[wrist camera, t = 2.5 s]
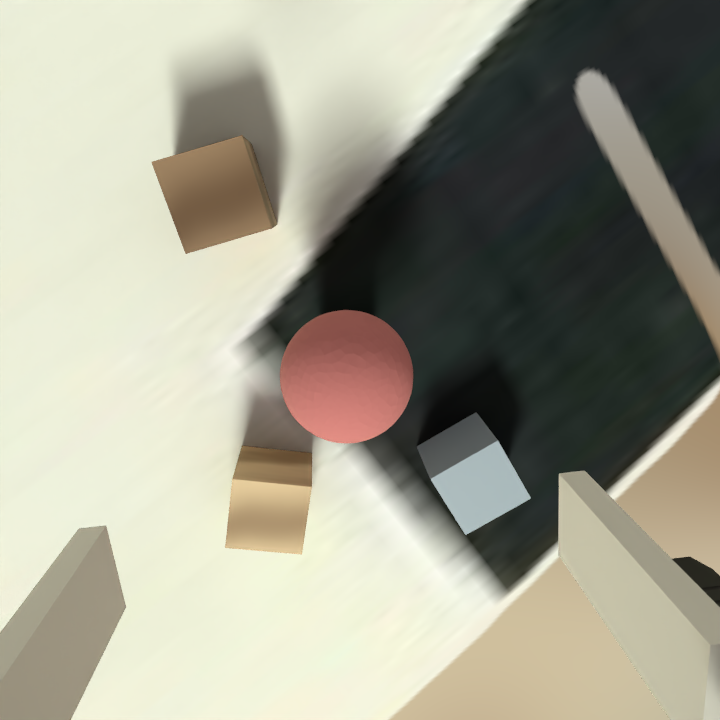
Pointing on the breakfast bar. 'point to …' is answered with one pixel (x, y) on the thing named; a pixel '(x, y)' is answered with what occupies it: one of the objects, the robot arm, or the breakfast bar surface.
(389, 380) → the light bulb
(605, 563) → the robot arm
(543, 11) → the breakfast bar surface
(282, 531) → the oak block
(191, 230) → the walnut block
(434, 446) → the slate-blue painted block
